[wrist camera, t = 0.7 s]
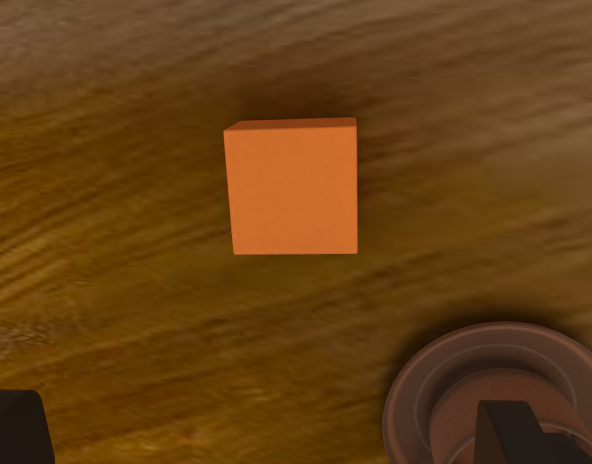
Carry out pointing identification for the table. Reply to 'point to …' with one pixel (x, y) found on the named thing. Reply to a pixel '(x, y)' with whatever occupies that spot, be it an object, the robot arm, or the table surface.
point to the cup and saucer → (486, 390)
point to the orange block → (293, 186)
